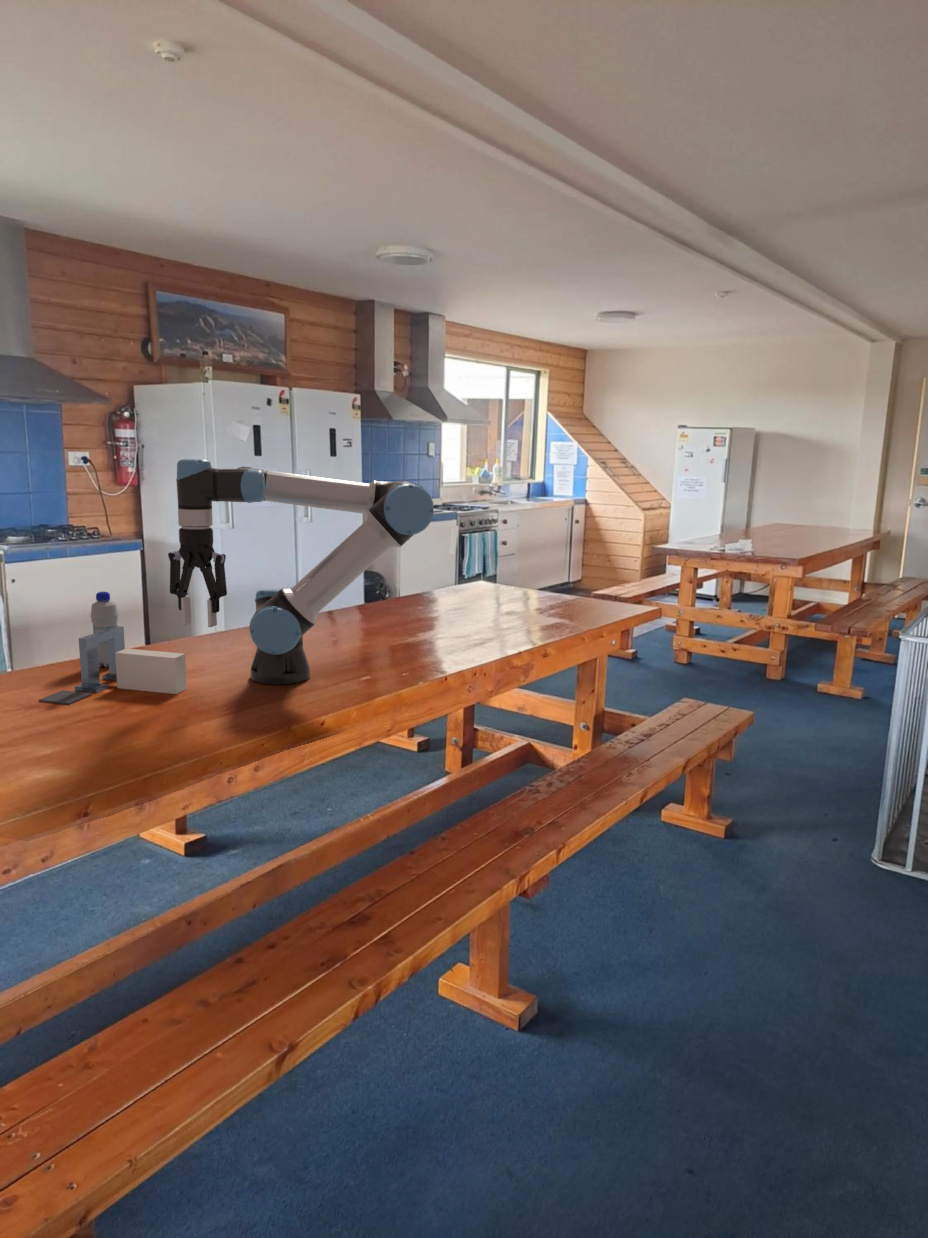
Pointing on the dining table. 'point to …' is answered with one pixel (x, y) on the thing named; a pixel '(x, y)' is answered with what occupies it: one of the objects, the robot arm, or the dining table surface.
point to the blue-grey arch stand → (90, 657)
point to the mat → (65, 697)
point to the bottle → (103, 622)
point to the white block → (150, 671)
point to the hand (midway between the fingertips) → (199, 624)
